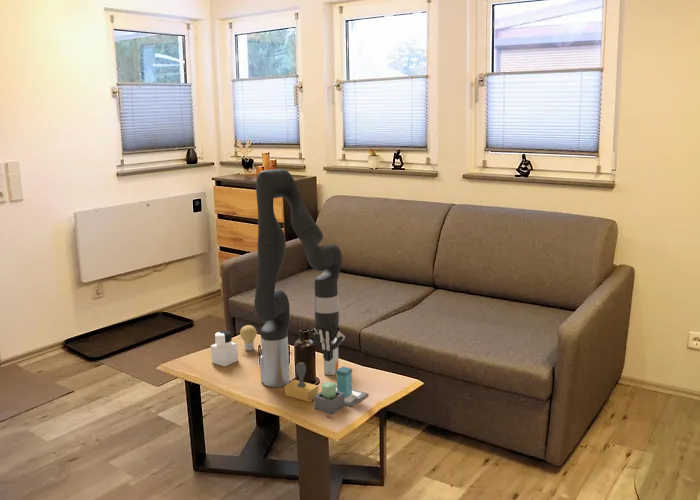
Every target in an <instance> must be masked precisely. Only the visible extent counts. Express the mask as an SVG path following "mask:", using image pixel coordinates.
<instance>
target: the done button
mask: <svg viewBox="0 0 700 500" xmlns="http://www.w3.org/2000/svg"><path fill="white" fill-rule="evenodd" d="M336 386H337V383H334V382H331V381H328V382H324V383H322V385H321V392H322V397H323V398H326V399H330V400H332V399H333V398H335V397H336Z"/></svg>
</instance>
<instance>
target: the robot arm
mask: <svg viewBox="0 0 700 500" xmlns="http://www.w3.org/2000/svg"><path fill="white" fill-rule="evenodd" d="M255 189H256V190H255V192H256V205H257V223H258V224H257V229H258V230H257V274H256V275H257V276H256V286H255V293H254V301H253V303H254V304H253V305H254V307H253V308H254V312H255V313H256V316H257V318H258V319H259V320H260V321H262V322H265V323H264V324H263V325H262V327H261V329H260V343H261V344H260V345H261V346H260V347H261V355H260V356H259V366H260V367H259V369H260V382H261V383H263V385H265V386H266V387H270V388H279V387H280V388H281V387H283V386H284V387H285V386H286V385H287V384H289V383H290V382H291V381H290V357H289V339H288V337H289V336H288V330H289V329H290V315H291V314H290V301H289V297H288V295H287V294H286V293H285V292H284V291H283V290H281V289H277V288H276V282H277V279H278V276H279V273H280V271H281V269H282V266H283V265H284V261H285V257H286V248H287V245H286V243H287V241H286V240H287V239H286V235H285V232H284V230H283V228H282V226H281V224H280V223H279V221H278V219H277V218H276V215H275V210H274V199H278V198H283V199H285V201H286V202H287V203H288V204H289V207H290V223H291V228H292V230H293V231H294V233H295V235H296V236H297V238H298V239H299V241H300V242H301V243H302V246H303V250H304V253H305V256H306V260H307V263H308V264H309V266H310V267H311V268H312V269H313V270H315V271H322V273H321V274H319V275H318V276H316V277H315V279H314V301H313V302H314V323H315V326H314V328H312V329H311V330H309V335H310V336H311V338H312V339H313V342H315V344H316V345H317V347H318V348H321V349H322V355H323V361H324V360H325V361H330V360H332V359H333V350H334V349H336V348H338V349H339V347H340V345H342V343H343V342H344V340H345V339H346V338H347V335H346V334H343V333H342V332H341V328H340V326H339V323H340V307H339V306H340V304H339V303H340V302H339V296H338V295H339V294H338V293H339V291H338V280H339V277H340V273H341V268H342V265H343V263H342V262H343V255H342V251H341V249H340V247H339V246H337V245H336V244H332V243H331V244H327V245H323V246H319V244H320V243H321V242H323V241H322V240H323V239H324V235H323V231H322V230H321V229H320V226H318V224H317V222H315V220H314V218H313V217H312V216H311V214H310V212H309V210H308V208H307V207H306V204H305V202H304V199H303V197H302V194H301V193H300V190H299V188H298V186H297V184H296V181H295V180H294V177H293V176H292V174H291V173H290V172H289V171H288V170H287V169H284V168H276V169H275V168H274V169H265V170H261V171H260V172H258V173H257V176H256V181H255ZM335 338H336V339H337V340H336V342H335ZM334 342H335V343H334Z"/></svg>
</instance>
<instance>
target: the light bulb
mask: <svg viewBox="0 0 700 500" xmlns="http://www.w3.org/2000/svg"><path fill="white" fill-rule="evenodd" d="M239 332H240V333H239V334H240V338H241V339H242V340H243V341H244V342H243V344H244V345H243V346H244V350H245V351H250V352H251V351H252V350H254V348H255V345H254V343H255V342H254V340H255V339H256V337H257V328H255V326H253V325H251V324H247V325H244V326H243V327H241V328H240V331H239Z"/></svg>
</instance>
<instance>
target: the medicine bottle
mask: <svg viewBox="0 0 700 500" xmlns="http://www.w3.org/2000/svg"><path fill="white" fill-rule="evenodd" d="M214 339H215V343H213V344H211V345H210V353H211V354H210V355H211V363H212V364H215V365H217V366H221V367H224V368H225V367H227V366H230V365H232V364H234V363H236V362H238V361H239V354H238V343H236V342H233V341H232V340H233V339H232V332H231V331H230V330H219V331H217V332H216V333H215V334H214Z"/></svg>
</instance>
